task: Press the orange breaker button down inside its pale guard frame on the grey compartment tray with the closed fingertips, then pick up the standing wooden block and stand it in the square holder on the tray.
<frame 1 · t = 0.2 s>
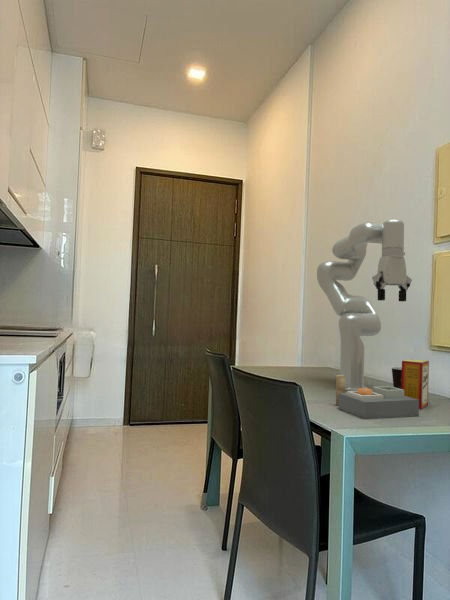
hand: (391, 300, 163), 36 cm above the table, tool pointing down, fingers open, 9 cm apart
coffee mug: (406, 394, 177), on the table
wooden block: (340, 405, 153), on the table
breaker button: (364, 395, 142), point 6 cm above the table, slide at 0.0 cm
grey compartment tray: (377, 412, 143), on the table
baking soda box: (414, 406, 155), on the table
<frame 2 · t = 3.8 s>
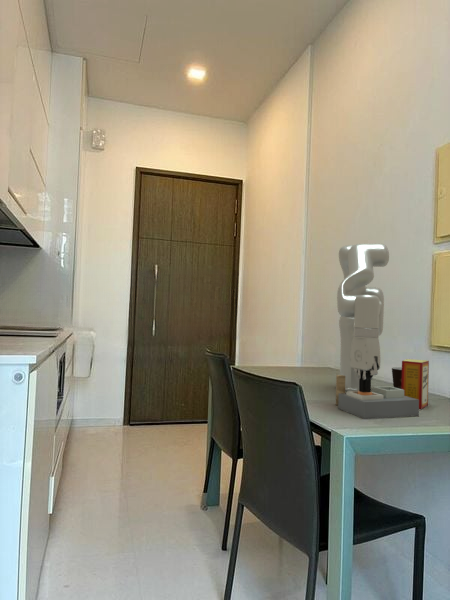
hand: (364, 391, 141), 7 cm above the table, tool pointing down, fingers closed
breaker button: (364, 398, 142), point 5 cm above the table, slide at 0.8 cm, touching gripper
everything else where it was.
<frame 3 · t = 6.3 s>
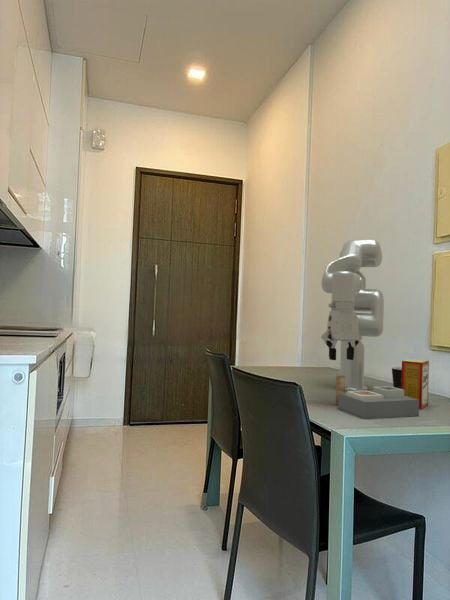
hand: (341, 359, 153), 16 cm above the table, tool pointing down, fingers open, 6 cm apart
breaker button: (364, 401, 142), point 4 cm above the table, slide at 1.9 cm
everything else where it was.
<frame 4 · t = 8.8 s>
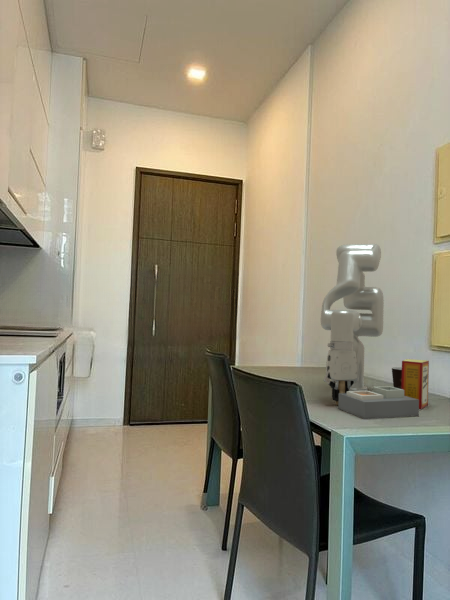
hand: (340, 399, 153), 2 cm above the table, tool pointing down, fingers closed on wooden block, 3 cm apart
wooden block: (340, 404, 153), on the table, touching gripper
everything else where it was.
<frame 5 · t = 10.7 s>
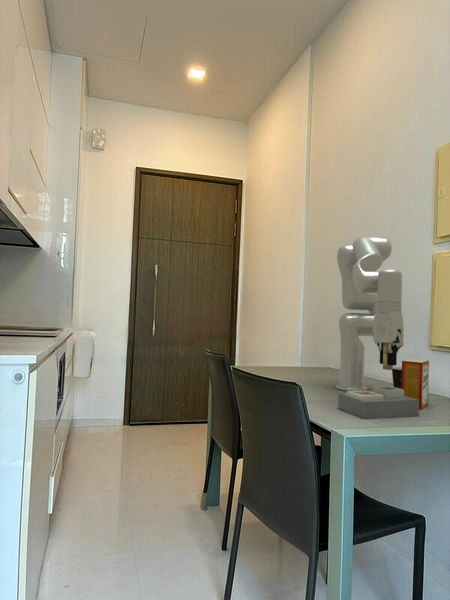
hand: (387, 364, 145), 15 cm above the table, tool pointing down, fingers closed on wooden block, 3 cm apart
wooden block: (387, 369, 145), point 14 cm above the table, touching gripper
everything else where it was.
when the fingers open (8 cm above the table, at t = 12.6 s): wooden block drops 1 cm, resting on grey compartment tray.
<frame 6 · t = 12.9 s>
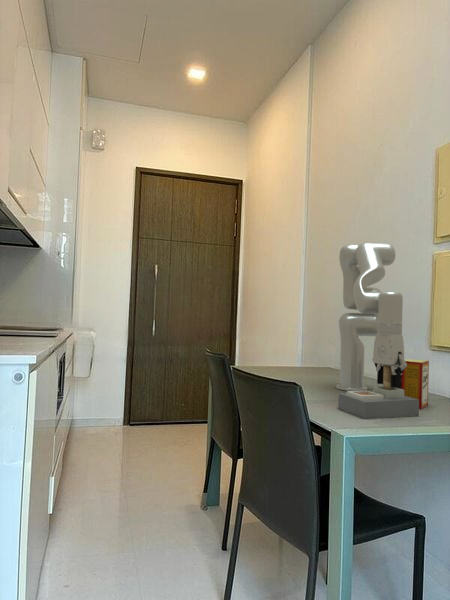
hand: (388, 385, 145), 9 cm above the table, tool pointing down, fingers open, 6 cm apart
wooden block: (388, 395, 145), point 5 cm above the table, touching grey compartment tray
everything else where it was.
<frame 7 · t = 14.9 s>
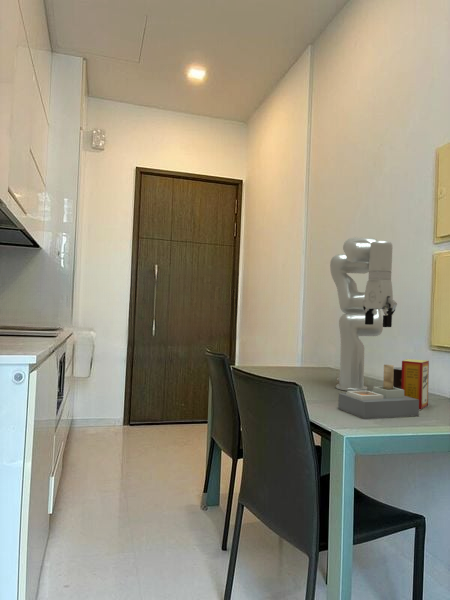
hand: (377, 325, 156), 27 cm above the table, tool pointing down, fingers open, 9 cm apart
nothing on the table moved.
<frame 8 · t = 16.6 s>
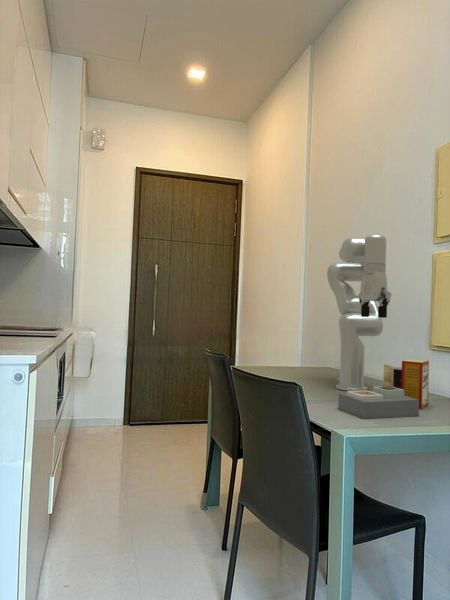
hand: (373, 317, 161), 30 cm above the table, tool pointing down, fingers open, 9 cm apart
nothing on the table moved.
at the end: breaker button slide at 1.9 cm; wooden block 0.0 cm from the target spot on the grey compartment tray, point 5.0 cm above the grey compartment tray's base; wooden block tilted 0° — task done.
